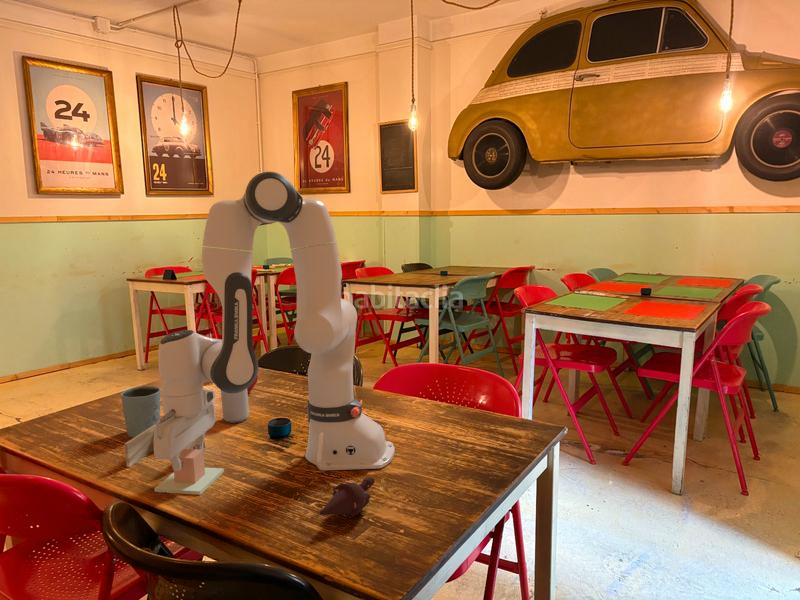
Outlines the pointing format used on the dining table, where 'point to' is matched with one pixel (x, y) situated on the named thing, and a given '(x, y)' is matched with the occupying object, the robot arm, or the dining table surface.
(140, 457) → the open box
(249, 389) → the strawberry
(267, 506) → the dining table surface
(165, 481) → the green mat
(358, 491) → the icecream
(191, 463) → the block
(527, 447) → the dining table surface
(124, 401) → the grey cup
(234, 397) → the can
